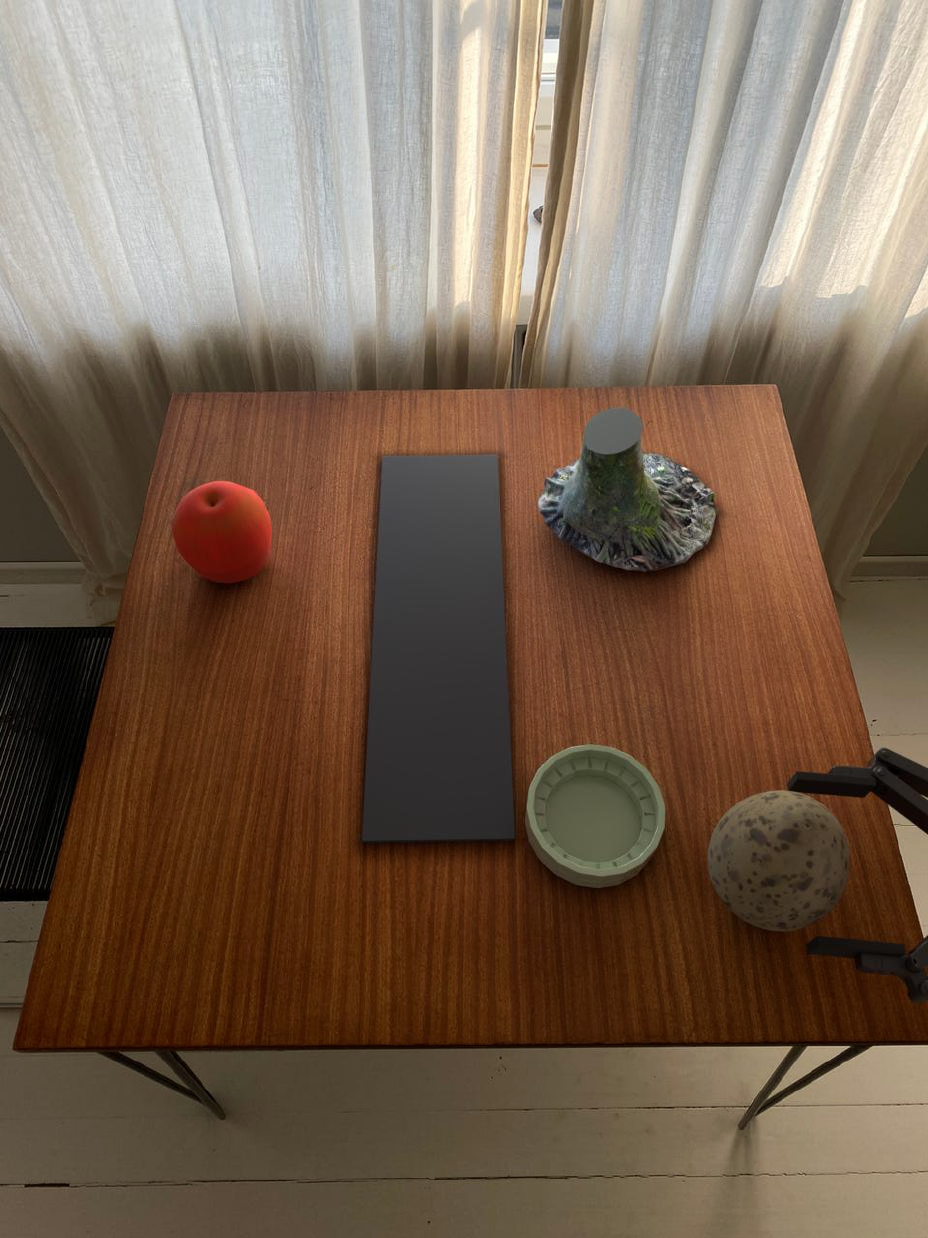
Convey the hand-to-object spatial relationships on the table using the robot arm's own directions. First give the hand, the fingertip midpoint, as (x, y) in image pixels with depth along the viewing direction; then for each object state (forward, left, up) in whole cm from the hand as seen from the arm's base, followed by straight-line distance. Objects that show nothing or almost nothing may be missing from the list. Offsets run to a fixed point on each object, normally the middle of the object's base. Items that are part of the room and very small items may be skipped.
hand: (800, 859), depth 71 cm
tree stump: (+24, +36, -8) cm, 44 cm away
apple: (-12, +63, -8) cm, 65 cm away
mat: (-2, +41, -7) cm, 42 cm away
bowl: (-7, +15, -7) cm, 18 cm away
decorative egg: (-1, +1, -8) cm, 8 cm away
